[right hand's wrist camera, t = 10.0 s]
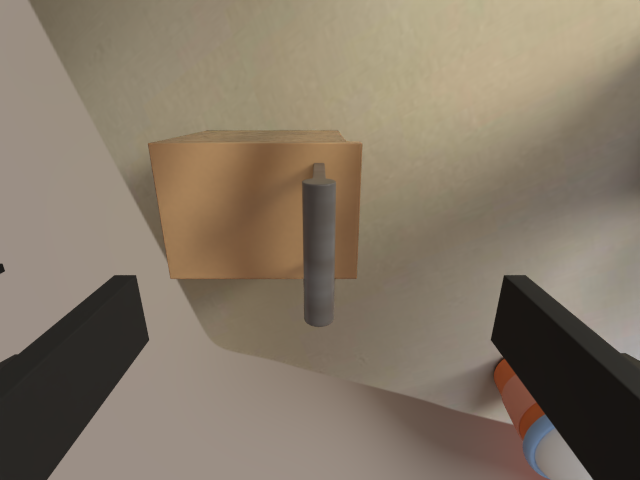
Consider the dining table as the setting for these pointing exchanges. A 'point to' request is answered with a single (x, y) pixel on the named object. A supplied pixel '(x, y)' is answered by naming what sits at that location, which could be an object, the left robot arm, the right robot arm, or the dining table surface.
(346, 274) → the lid
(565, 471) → the cup with straw
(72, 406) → the right robot arm
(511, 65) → the dining table surface
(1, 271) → the left robot arm
